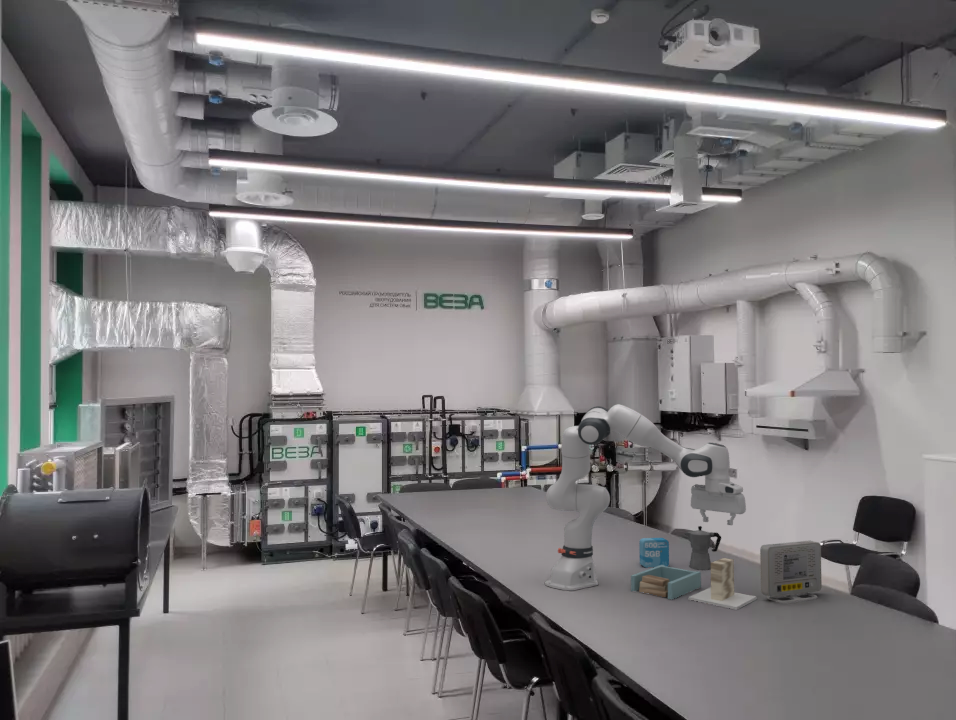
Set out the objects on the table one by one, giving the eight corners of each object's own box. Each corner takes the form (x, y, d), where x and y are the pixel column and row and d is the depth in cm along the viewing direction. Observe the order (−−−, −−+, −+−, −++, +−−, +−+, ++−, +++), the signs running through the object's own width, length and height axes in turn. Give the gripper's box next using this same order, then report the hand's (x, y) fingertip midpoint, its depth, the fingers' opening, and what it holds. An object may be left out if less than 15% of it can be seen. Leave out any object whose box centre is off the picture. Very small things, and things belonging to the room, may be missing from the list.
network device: (809, 591, 276) (808, 539, 277) (827, 597, 268) (826, 543, 269) (756, 598, 267) (755, 544, 268) (774, 604, 259) (773, 548, 260)
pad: (736, 610, 252) (736, 607, 252) (688, 599, 264) (688, 597, 265) (756, 599, 266) (756, 596, 266) (710, 590, 278) (710, 587, 278)
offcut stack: (665, 598, 267) (665, 581, 267) (638, 592, 274) (638, 576, 275) (672, 595, 271) (671, 579, 271) (645, 589, 278) (645, 574, 278)
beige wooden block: (721, 601, 260) (721, 564, 260) (711, 598, 262) (710, 562, 263) (734, 594, 268) (733, 559, 268) (723, 592, 271) (723, 557, 271)
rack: (671, 600, 264) (671, 583, 265) (631, 591, 276) (630, 575, 276) (700, 587, 282) (700, 571, 282) (661, 579, 293) (661, 564, 294)
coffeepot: (684, 569, 311) (683, 527, 312) (685, 564, 320) (684, 523, 321) (721, 571, 307) (721, 529, 307) (721, 566, 316) (720, 525, 316)
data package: (643, 568, 313) (643, 540, 314) (639, 565, 317) (639, 538, 318) (669, 567, 315) (669, 539, 315) (665, 564, 319) (664, 537, 320)
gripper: (687, 484, 274) (687, 521, 274) (740, 489, 261) (741, 528, 260) (694, 482, 279) (695, 518, 278) (747, 488, 265) (747, 525, 265)
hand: (717, 523), depth 269 cm, fingers open, 8 cm apart
